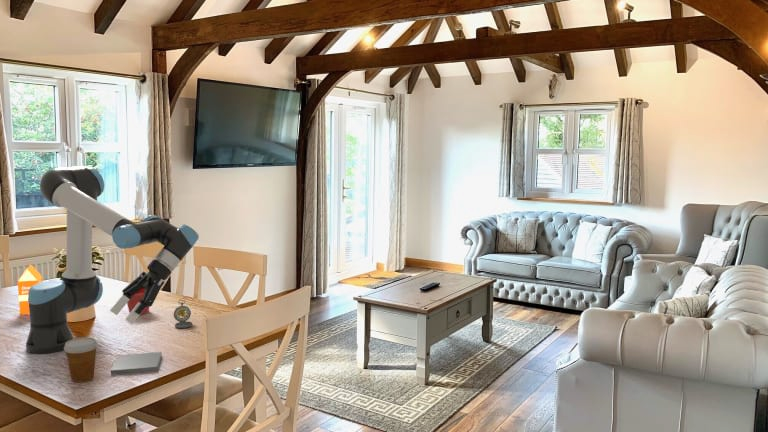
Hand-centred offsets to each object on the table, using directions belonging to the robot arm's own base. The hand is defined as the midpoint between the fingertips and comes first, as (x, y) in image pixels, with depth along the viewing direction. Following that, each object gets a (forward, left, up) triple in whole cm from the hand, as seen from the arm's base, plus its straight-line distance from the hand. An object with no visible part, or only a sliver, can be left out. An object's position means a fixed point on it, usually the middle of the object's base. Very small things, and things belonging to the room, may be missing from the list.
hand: (120, 317), depth 197 cm
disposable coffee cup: (-11, -6, -18) cm, 22 cm away
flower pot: (-4, +66, -18) cm, 68 cm away
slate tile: (+4, +2, -17) cm, 18 cm away
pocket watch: (+16, +43, -18) cm, 49 cm away
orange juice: (-49, +78, -18) cm, 94 cm away
